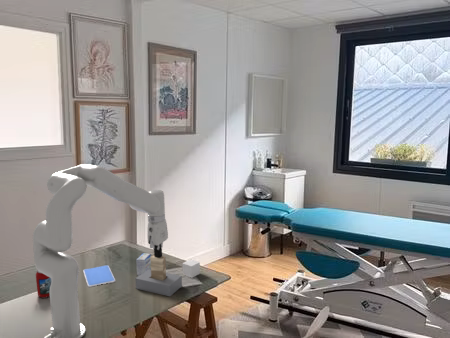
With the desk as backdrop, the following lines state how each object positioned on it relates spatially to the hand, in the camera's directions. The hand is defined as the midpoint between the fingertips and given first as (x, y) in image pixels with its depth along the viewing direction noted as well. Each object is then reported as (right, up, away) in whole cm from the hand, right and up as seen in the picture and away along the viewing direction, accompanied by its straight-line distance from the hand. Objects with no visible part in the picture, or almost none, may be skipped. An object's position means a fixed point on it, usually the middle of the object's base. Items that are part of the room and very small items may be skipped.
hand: (158, 256), depth 187 cm
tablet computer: (-31, -13, +14) cm, 37 cm away
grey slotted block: (0, -15, +3) cm, 15 cm away
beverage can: (-49, -16, -4) cm, 52 cm away
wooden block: (0, -12, +2) cm, 12 cm away
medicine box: (-10, -12, +18) cm, 24 cm away
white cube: (+14, -12, +16) cm, 24 cm away
